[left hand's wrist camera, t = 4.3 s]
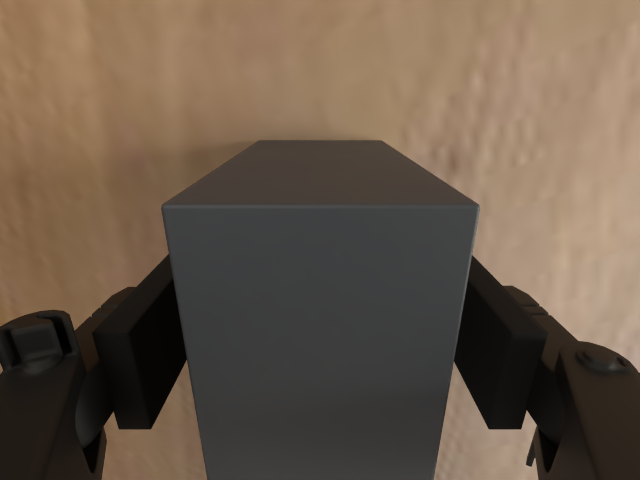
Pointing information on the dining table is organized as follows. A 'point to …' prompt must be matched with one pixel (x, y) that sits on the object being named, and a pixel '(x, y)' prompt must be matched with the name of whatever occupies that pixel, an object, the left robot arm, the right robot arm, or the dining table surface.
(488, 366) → the left robot arm
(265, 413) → the post
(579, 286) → the dining table surface
